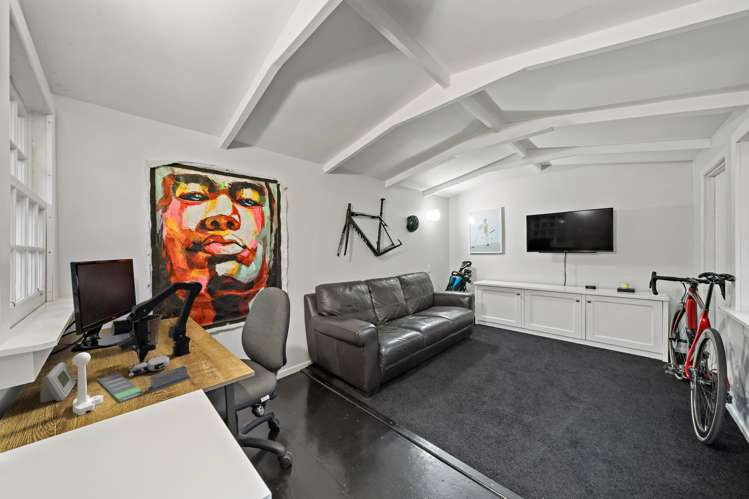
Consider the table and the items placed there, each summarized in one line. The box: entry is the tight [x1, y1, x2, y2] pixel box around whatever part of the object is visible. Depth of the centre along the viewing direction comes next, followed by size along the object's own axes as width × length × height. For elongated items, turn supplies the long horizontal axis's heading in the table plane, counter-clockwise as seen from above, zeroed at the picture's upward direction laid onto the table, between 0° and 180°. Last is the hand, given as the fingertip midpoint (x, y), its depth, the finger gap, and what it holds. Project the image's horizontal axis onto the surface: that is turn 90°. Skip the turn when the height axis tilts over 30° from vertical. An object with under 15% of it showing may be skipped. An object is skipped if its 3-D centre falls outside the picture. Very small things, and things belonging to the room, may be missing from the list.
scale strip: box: [97, 372, 145, 404], centre depth 112 cm, size 7×31×1 cm, turn 57°
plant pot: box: [128, 314, 163, 349], centre depth 160 cm, size 16×16×16 cm
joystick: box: [72, 352, 104, 416], centre depth 99 cm, size 11×8×20 cm
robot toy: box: [127, 354, 170, 377], centre depth 127 cm, size 12×4×15 cm
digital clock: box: [39, 362, 77, 403], centre depth 107 cm, size 16×9×11 cm, turn 25°
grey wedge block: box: [147, 365, 191, 393], centre depth 115 cm, size 14×4×5 cm, turn 147°
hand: (141, 362), depth 133 cm, fingers closed
